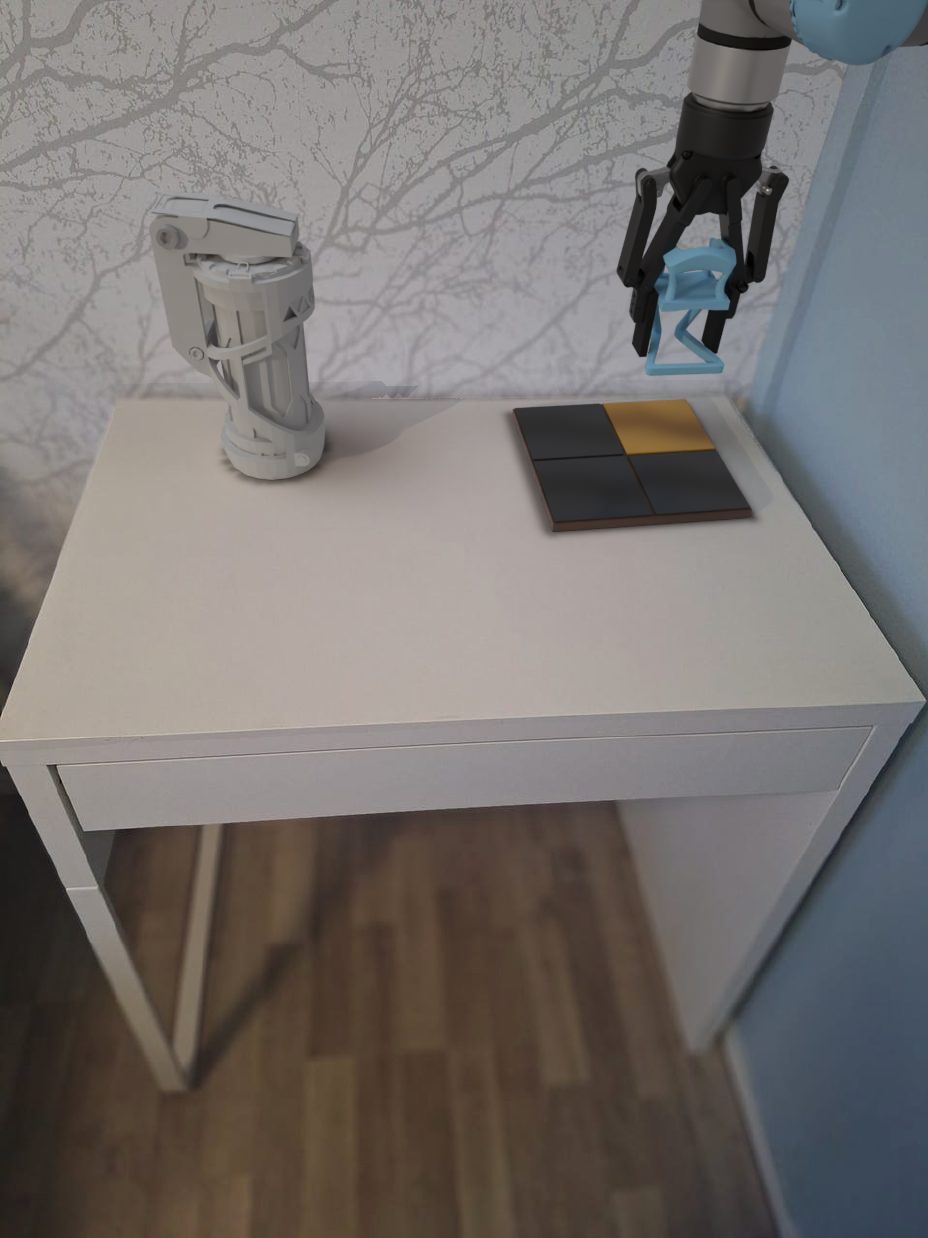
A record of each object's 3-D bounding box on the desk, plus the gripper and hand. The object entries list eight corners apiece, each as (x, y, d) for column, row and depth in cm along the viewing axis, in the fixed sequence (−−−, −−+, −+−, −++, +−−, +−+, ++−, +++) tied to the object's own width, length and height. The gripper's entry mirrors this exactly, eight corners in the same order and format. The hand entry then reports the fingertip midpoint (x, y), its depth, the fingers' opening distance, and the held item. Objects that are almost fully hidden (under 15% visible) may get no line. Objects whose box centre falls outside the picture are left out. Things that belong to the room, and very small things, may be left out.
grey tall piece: (332, 425, 99) (314, 184, 81) (320, 484, 91) (297, 232, 74) (211, 420, 99) (166, 177, 81) (189, 479, 91) (135, 225, 74)
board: (749, 517, 90) (753, 508, 90) (552, 531, 88) (553, 522, 87) (684, 406, 104) (686, 397, 103) (511, 416, 102) (512, 406, 101)
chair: (701, 332, 97) (725, 216, 88) (723, 373, 91) (751, 253, 82) (629, 334, 96) (646, 218, 88) (646, 376, 90) (667, 255, 82)
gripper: (820, 82, 81) (752, 326, 97) (604, 83, 78) (571, 334, 94) (859, 110, 75) (780, 363, 92) (629, 112, 73) (589, 372, 89)
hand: (674, 348), depth 93 cm, fingers closed on chair, 7 cm apart
